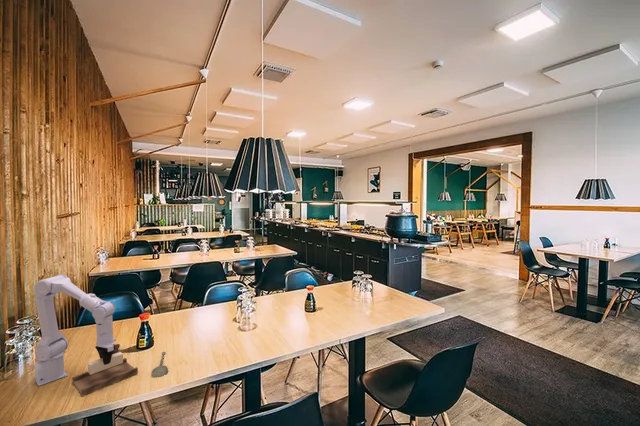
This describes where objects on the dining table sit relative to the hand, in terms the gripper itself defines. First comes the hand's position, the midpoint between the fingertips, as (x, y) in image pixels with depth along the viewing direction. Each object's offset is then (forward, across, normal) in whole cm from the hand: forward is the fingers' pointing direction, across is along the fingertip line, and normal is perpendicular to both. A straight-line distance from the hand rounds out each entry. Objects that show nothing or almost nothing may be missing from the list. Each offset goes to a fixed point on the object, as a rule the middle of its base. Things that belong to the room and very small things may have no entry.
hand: (105, 362), depth 131 cm
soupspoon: (+8, -8, -20) cm, 23 cm away
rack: (+7, 0, 0) cm, 7 cm away
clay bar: (+2, 0, 0) cm, 2 cm away
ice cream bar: (+8, +24, -9) cm, 27 cm away
